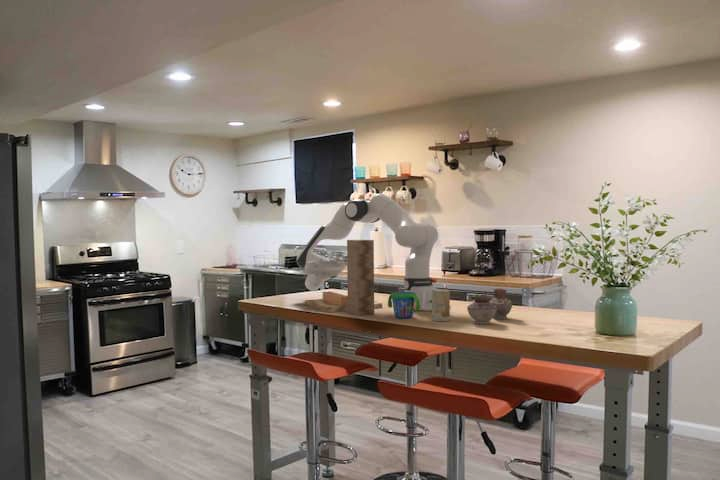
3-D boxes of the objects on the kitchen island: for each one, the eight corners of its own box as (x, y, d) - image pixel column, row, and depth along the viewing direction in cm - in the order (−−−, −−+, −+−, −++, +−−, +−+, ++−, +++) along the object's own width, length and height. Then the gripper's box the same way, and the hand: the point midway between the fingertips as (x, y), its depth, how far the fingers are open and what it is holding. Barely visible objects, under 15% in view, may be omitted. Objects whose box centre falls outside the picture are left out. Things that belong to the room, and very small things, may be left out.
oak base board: (356, 300, 284) (356, 296, 284) (382, 307, 259) (382, 303, 259) (304, 304, 272) (304, 300, 272) (326, 312, 247) (326, 307, 247)
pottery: (518, 318, 227) (518, 289, 227) (488, 327, 209) (487, 295, 208) (493, 315, 235) (493, 287, 235) (461, 323, 216) (461, 293, 216)
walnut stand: (363, 310, 250) (363, 239, 249) (374, 314, 241) (373, 240, 240) (347, 312, 246) (347, 239, 245) (357, 315, 237) (356, 240, 236)
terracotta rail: (330, 299, 274) (330, 291, 273) (349, 305, 254) (349, 296, 254) (322, 300, 272) (322, 292, 272) (341, 305, 252) (341, 297, 252)
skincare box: (435, 321, 220) (435, 291, 220) (431, 320, 225) (431, 289, 224) (450, 320, 222) (450, 290, 222) (445, 319, 226) (445, 289, 226)
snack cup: (381, 316, 235) (381, 292, 234) (399, 313, 241) (399, 290, 241) (407, 321, 223) (407, 295, 222) (426, 318, 229) (425, 293, 229)
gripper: (299, 267, 276) (308, 254, 265) (337, 265, 285) (347, 253, 274) (302, 279, 273) (310, 266, 262) (340, 276, 282) (350, 264, 271)
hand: (329, 259), depth 268 cm, fingers open, 8 cm apart
